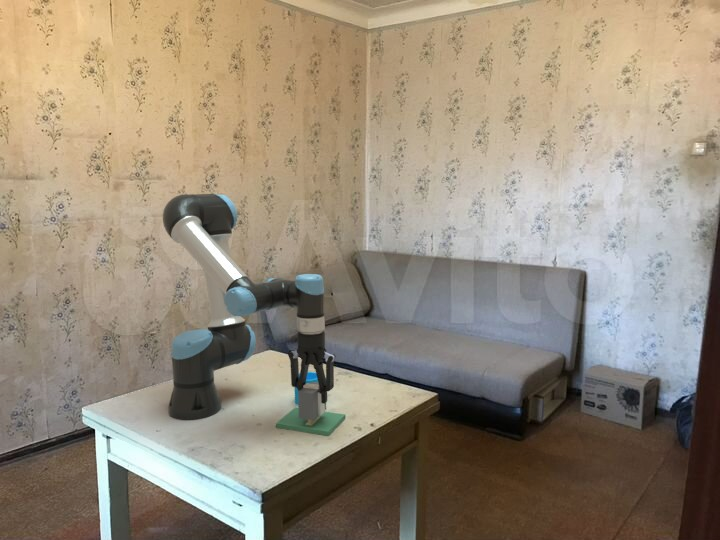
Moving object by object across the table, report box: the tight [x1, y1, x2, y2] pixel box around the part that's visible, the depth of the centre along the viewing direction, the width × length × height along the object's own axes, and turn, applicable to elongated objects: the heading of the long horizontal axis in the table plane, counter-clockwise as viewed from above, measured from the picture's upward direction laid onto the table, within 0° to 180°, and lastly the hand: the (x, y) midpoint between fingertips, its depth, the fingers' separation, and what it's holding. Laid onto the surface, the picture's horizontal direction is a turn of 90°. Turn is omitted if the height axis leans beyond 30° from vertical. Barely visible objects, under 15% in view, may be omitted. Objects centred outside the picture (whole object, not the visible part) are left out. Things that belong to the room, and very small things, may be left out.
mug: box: [294, 371, 326, 406], centre depth 170 cm, size 12×8×8 cm
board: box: [275, 406, 346, 437], centre depth 153 cm, size 16×12×5 cm
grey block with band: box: [298, 382, 327, 420], centre depth 151 cm, size 4×8×8 cm, turn 160°
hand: (313, 412), depth 152 cm, fingers closed on grey block with band, 4 cm apart
